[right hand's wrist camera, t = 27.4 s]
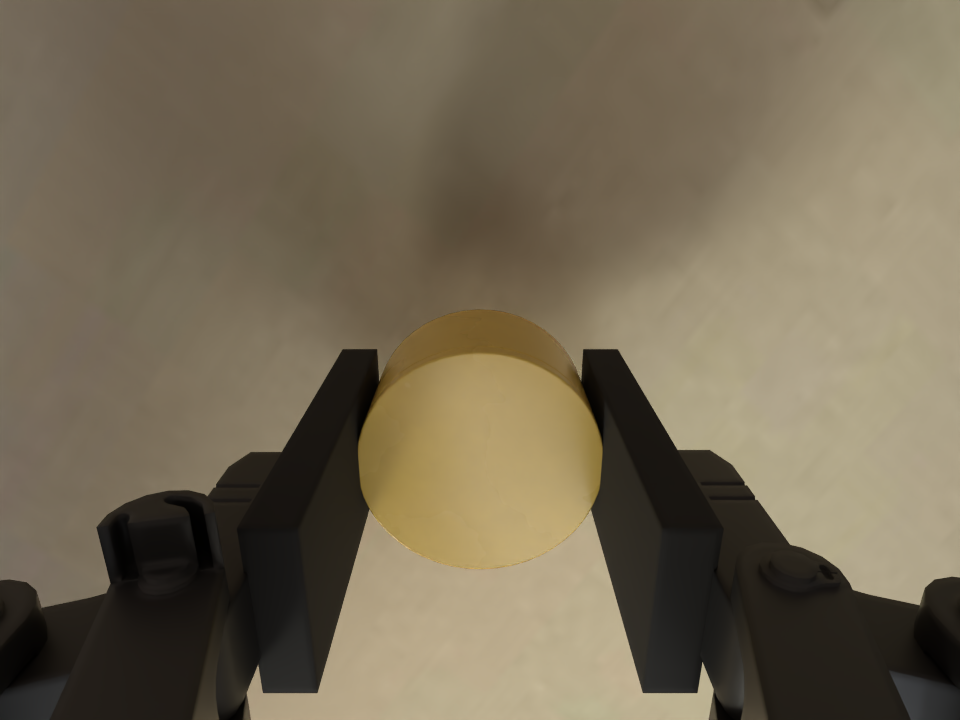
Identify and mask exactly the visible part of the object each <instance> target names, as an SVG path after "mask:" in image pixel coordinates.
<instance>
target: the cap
mask: <svg viewBox="0 0 960 720" xmlns="http://www.w3.org/2000/svg"><path fill="white" fill-rule="evenodd" d="M602 453H603V443H602V437H601V434H600V431H599V428H598V425H597V422H596V419H595V417H594V414H593V412H592V409H591V406H590V404H589V401H588V398H587V396H586V393H585V391H584V388H583V385H582V383H581V380H580V378H579V375H578V372H577V370H576V368H575V366H574V364H573V362H572V360H571V358H570V357H569V355H568V354H567V352H566V351H565V349H564V348H563V347H562V346H561V345H560V344H559V343H558V342H557V340H556V339H555V338H553V337H552V336H551V335H550V334H549V333H548V332H546V331H545V330H544V329H542V328H541V327H539V326H537V325H536V324H534V323H532V322H530V321H528V320H526V319H524V318H522V317H519V316H516V315H513V314H509V313H505V312H500V311H494V310H467V311H460V312H456V313H451V314H448V315H445V316H442V317H439V318H436V319H434V320H432V321H430V322H428V323H426V324H424V325H423V326H421V327H420V328H419V329H417V330H416V331H414V332H413V333H412V334H411V335H409V336H408V337H407V338H406V339H405V340H404V341H403V342H402V343H401V344H400V345H399V347H398V348H397V349H396V350H395V351H394V353H393V354H392V356H391V358H390V359H389V361H388V363H387V365H386V367H385V369H384V371H383V374H382V376H381V379H380V381H379V384H378V387H377V389H376V392H375V395H374V397H373V400H372V402H371V405H370V408H369V410H368V413H367V416H366V418H365V421H364V423H363V426H362V429H361V433H360V436H359V440H358V461H359V474H360V486H361V490H362V493H363V496H364V499H365V501H366V503H367V505H368V507H369V509H370V510H371V512H372V513H373V515H374V516H375V518H376V519H377V521H378V522H379V523H380V524H381V526H382V527H383V528H384V529H385V530H386V531H387V532H388V533H389V534H390V535H391V536H392V537H393V538H394V539H396V540H397V541H398V542H399V543H401V544H402V545H404V546H405V547H407V548H408V549H409V550H411V551H413V552H415V553H417V554H419V555H421V556H423V557H425V558H427V559H430V560H433V561H435V562H438V563H442V564H445V565H449V566H454V567H460V568H468V569H491V568H500V567H506V566H512V565H515V564H519V563H522V562H526V561H528V560H531V559H533V558H535V557H538V556H540V555H542V554H544V553H546V552H547V551H549V550H551V549H553V548H554V547H556V546H557V545H558V544H560V543H561V542H562V541H564V540H565V539H566V538H567V537H568V536H569V535H571V534H572V533H573V532H574V531H575V530H576V529H577V527H578V526H579V525H580V524H581V523H582V521H583V520H584V519H585V517H586V516H587V514H588V513H589V511H590V509H591V508H592V506H593V504H594V502H595V499H596V497H597V495H598V492H599V489H600V479H601V466H602Z"/></svg>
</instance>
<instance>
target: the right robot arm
mask: <svg viewBox="0 0 960 720" xmlns="http://www.w3.org/2000/svg"><path fill="white" fill-rule="evenodd" d="M581 383H582V385H583V388H584V391H585V393H586V396H587V398H588V401H589V404H590V406H591V409H592V412H593V414H594V417H595V419H596V422H597V425H598V428H599V431H600V434H601V437H602V443H603V453H602V466H601V479H600V489H599V492H598V495H597V497H596V499H595V502H594V504H593V506H592V508H591V511H592V514H593V518H594V521H595V525H596V528H597V532H598V536H599V539H600V543H601V546H602V550H603V553H604V557H605V560H606V564H607V567H608V571H609V574H610V578H611V582H612V585H613V589H614V592H615V596H616V599H617V603H618V606H619V610H620V613H621V617H622V620H623V624H624V628H625V631H626V635H627V638H628V642H629V645H630V649H631V652H632V656H633V659H634V663H635V666H636V670H637V674H638V677H639V681H640V684H641V688H642V691H643V693H697V692H698V686H699V680H700V673H701V667H702V661H703V664H704V666H705V669H706V671H707V674H708V676H709V678H710V681H711V683H712V686H713V688H714V693H713V698H712V704H711V710H710V716H709V720H960V578H958V577H948V578H942V579H936V580H934V581H933V582H931V583H930V584H929V585H928V586H927V587H925V590H924V593H923V597H922V600H921V603H920V605H915V604H910V603H906V602H901V601H896V600H892V599H887V598H882V597H877V596H873V595H868V594H865V593H861V592H858V591H854V590H852V588H851V585H850V583H849V582H848V580H847V579H846V578H845V576H844V575H843V574H842V572H841V571H840V570H839V569H838V568H837V567H836V566H834V565H833V564H831V563H830V562H829V561H827V560H826V559H825V558H823V557H822V556H819V555H817V554H815V553H813V552H810V551H808V550H806V549H804V548H801V547H797V546H792V545H790V544H789V543H788V541H787V540H786V539H785V537H784V536H783V534H782V533H781V532H780V530H779V529H778V528H777V526H776V525H775V523H774V522H773V521H772V519H771V518H770V517H769V515H768V514H767V512H766V511H765V510H764V508H763V507H762V506H761V504H760V503H759V501H758V500H755V496H754V494H753V493H752V492H751V490H750V489H749V488H748V486H745V484H744V481H743V479H742V478H741V477H740V475H739V474H738V472H737V471H736V470H735V468H734V467H733V466H732V465H731V464H730V463H728V462H727V461H725V460H724V459H722V458H721V457H719V456H718V455H716V454H715V453H713V452H712V451H710V450H677V449H676V447H675V445H674V444H673V442H672V440H671V438H670V437H669V435H668V433H667V432H666V430H665V428H664V427H663V425H662V423H661V422H660V420H659V418H658V417H657V415H656V413H655V412H654V410H653V408H652V406H651V405H650V403H649V401H648V400H647V398H646V396H645V395H644V393H643V391H642V390H641V388H640V386H639V385H638V383H637V381H636V379H635V378H634V376H633V374H632V373H631V371H630V369H629V368H628V366H627V364H626V363H625V361H624V359H623V358H622V356H621V354H620V353H619V351H618V349H583V362H582V379H581ZM378 384H379V372H378V356H377V349H343V350H342V352H341V353H340V355H339V357H338V358H337V360H336V362H335V363H334V365H333V367H332V368H331V370H330V372H329V373H328V375H327V377H326V379H325V380H324V382H323V384H322V385H321V387H320V389H319V390H318V392H317V394H316V395H315V397H314V399H313V400H312V402H311V404H310V406H309V407H308V409H307V411H306V412H305V414H304V416H303V417H302V419H301V421H300V422H299V424H298V426H297V427H296V429H295V431H294V432H293V434H292V436H291V438H290V439H289V441H288V443H287V444H286V446H285V448H284V449H283V451H282V452H251V453H249V454H248V455H246V456H245V457H243V458H242V459H240V460H239V461H237V462H236V463H234V464H233V465H231V466H229V467H228V469H227V470H226V472H225V473H224V474H223V476H222V477H221V478H220V480H219V481H218V483H217V484H216V488H213V490H212V491H211V492H210V494H209V495H208V497H207V496H206V495H205V494H201V493H197V492H193V491H189V490H183V491H165V492H160V493H155V494H150V495H146V496H143V497H141V498H138V499H136V500H133V501H131V502H128V503H125V504H124V505H122V506H121V507H119V508H117V509H116V510H114V511H113V512H111V513H109V514H108V515H107V516H106V517H105V518H104V519H103V520H102V522H101V523H100V524H99V525H98V526H97V531H98V535H99V539H100V543H101V547H102V551H103V555H104V559H105V563H106V567H107V571H108V575H109V579H110V583H111V584H110V587H109V589H108V591H107V593H106V594H102V595H99V596H95V597H91V598H87V599H82V600H77V601H73V602H68V603H63V604H59V605H54V606H49V607H44V608H41V605H40V601H39V598H38V595H37V592H36V590H35V589H34V588H33V587H31V586H30V585H29V584H28V583H27V582H21V581H15V580H1V581H0V720H251V719H250V711H249V704H248V698H247V690H248V688H249V685H250V683H251V680H252V678H253V675H254V673H255V671H256V668H257V666H258V665H259V671H260V677H261V683H262V689H263V693H318V689H319V686H320V682H321V679H322V675H323V671H324V668H325V664H326V661H327V657H328V654H329V650H330V647H331V643H332V640H333V636H334V633H335V629H336V625H337V622H338V618H339V615H340V611H341V608H342V604H343V601H344V597H345V594H346V590H347V587H348V583H349V579H350V576H351V572H352V569H353V565H354V562H355V558H356V555H357V551H358V548H359V544H360V541H361V537H362V533H363V530H364V526H365V523H366V519H367V516H368V512H369V507H368V505H367V503H366V501H365V499H364V496H363V493H362V490H361V486H360V474H359V461H358V440H359V436H360V433H361V429H362V426H363V423H364V421H365V418H366V416H367V413H368V410H369V408H370V405H371V402H372V400H373V397H374V395H375V392H376V389H377V387H378Z"/></svg>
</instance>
